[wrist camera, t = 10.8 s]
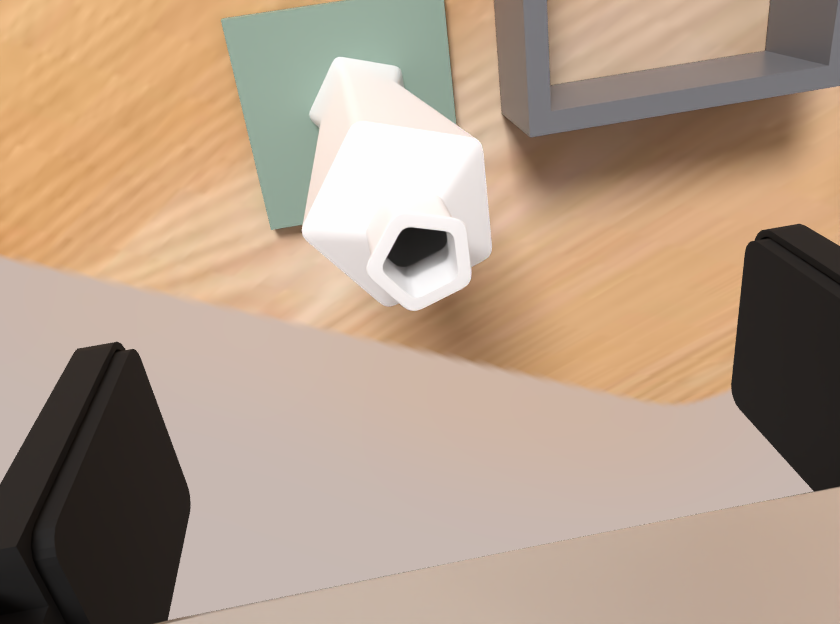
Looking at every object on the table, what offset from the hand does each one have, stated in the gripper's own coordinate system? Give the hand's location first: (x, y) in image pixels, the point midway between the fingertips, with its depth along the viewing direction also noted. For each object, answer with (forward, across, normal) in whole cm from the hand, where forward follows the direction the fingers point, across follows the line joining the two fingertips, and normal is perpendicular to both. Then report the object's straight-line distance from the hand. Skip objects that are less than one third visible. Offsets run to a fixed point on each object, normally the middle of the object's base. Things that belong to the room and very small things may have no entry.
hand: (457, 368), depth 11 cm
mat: (+19, +1, 0) cm, 19 cm away
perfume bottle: (+19, 0, 0) cm, 19 cm away
